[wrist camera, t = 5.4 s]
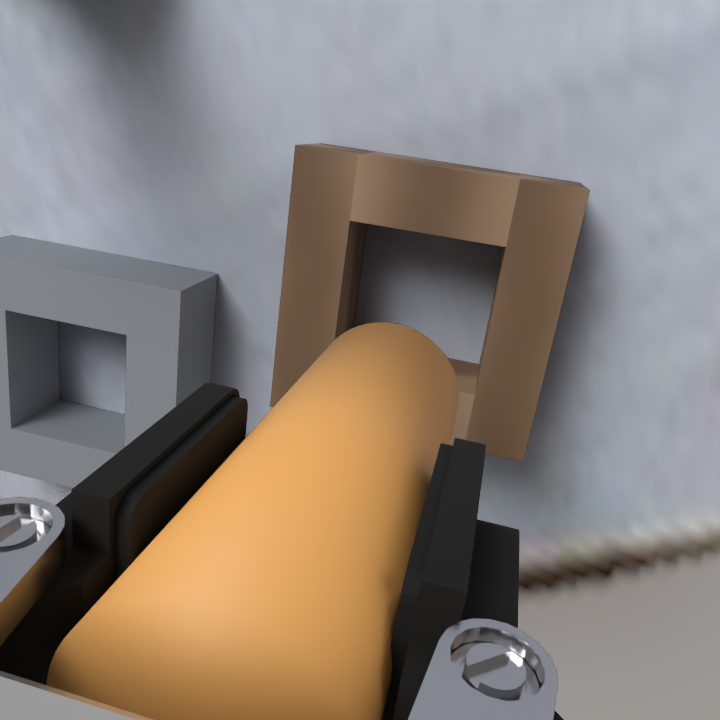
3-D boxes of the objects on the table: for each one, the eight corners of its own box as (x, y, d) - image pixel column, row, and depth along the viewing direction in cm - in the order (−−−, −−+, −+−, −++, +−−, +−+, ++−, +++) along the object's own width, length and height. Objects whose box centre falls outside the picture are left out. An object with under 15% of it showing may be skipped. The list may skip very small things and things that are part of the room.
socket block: (217, 273, 29) (180, 291, 26) (204, 474, 33) (171, 512, 30) (12, 235, 31) (-47, 247, 28) (20, 431, 34) (-31, 462, 31)
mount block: (580, 183, 25) (590, 190, 22) (522, 424, 29) (523, 461, 25) (321, 143, 27) (295, 144, 23) (296, 376, 30) (269, 406, 27)
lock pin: (471, 338, 15) (388, 660, 6) (444, 473, 16) (340, 912, 7) (323, 309, 16) (41, 562, 7) (307, 441, 17) (50, 809, 8)
